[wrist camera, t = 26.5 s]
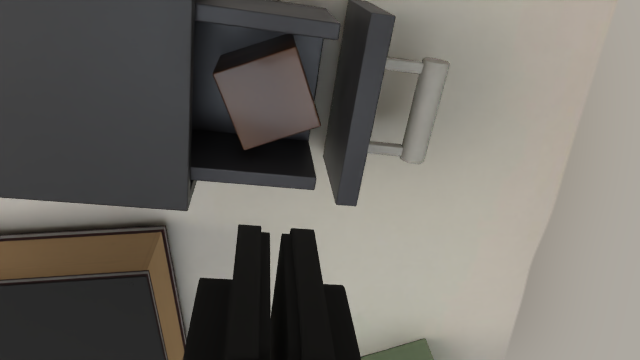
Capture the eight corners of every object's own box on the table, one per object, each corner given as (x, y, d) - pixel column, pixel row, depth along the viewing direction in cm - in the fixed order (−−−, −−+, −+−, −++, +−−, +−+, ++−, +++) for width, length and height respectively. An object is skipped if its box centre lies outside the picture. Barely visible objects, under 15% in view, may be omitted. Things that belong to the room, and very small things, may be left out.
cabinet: (214, -34, 27) (193, -28, 19) (206, 148, 32) (187, 211, 24) (-43, -74, 25) (-183, -85, 17) (-9, 128, 30) (-104, 190, 22)
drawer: (434, 11, 28) (479, 28, 22) (397, 163, 33) (427, 212, 27) (152, -32, 26) (117, -25, 20) (154, 140, 30) (126, 188, 24)
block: (292, 31, 27) (296, 46, 23) (314, 102, 29) (321, 126, 25) (219, 55, 27) (211, 73, 23) (246, 123, 29) (243, 151, 25)
